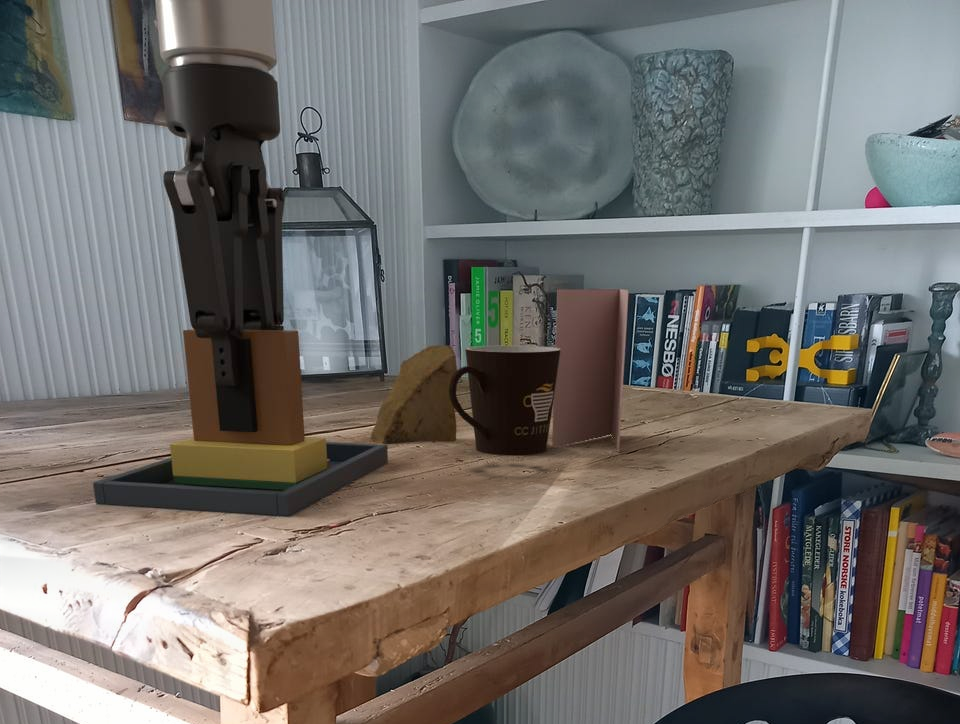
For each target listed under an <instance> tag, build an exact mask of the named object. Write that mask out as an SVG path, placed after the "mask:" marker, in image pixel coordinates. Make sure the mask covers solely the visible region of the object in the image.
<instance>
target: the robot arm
mask: <svg viewBox="0 0 960 724" xmlns="http://www.w3.org/2000/svg"><path fill="white" fill-rule="evenodd" d="M154 1H155V12H156V14H155V18H154V20H153V21H154V27H155V28H156V29H157V32H158V34H157V35H158V44H159V45H158V46H159V55H160V58H161V59H162V60H163V61H164V62H165V63H166V64H167V65H169V66H170V67H168V68H167V69H165V71H164V73H163V74H162V75H161V82H162V91H163V102H164V103H163V104H164V111H165V113H164V114H165V122H166V123H165V124H166V127H167V129H168V131H169V132H170V133H171V134H172V135H174V136H176V137H179V138H182V139H185V141H186V142H185V149H184V157H183V158H184V166H183V167H182V168H181V169H180V170H165V171H164V173H163V177H162V181H163V185H164V189H165V191H166V194H167V198H168V201H169V204H170V206H171V209H172V212H173V213H172V214H173V220H174V225H175V231H176V239H177V245H178V246H177V247H178V252H179V258H180V265H181V271H182V278H183V283H184V284H183V285H184V290H185V297H186V303H187V309H188V315H189V322H190V326H191V329H194V330H195V333H196V336H197V337H198V338H211V341H212V351H213V362H214V373H215V384H216V395H217V405H218V416H219V427H220V431H235V432H256V431H258V429H257V416H256V403H255V390H254V377H253V364H252V351H251V339H241V338H242V337H243V332H244V330H285V329H284V327H285V326H284V325H283V324H284V319H285V310H284V309H285V307H284V305H285V304H284V260H283V258H284V257H283V256H284V253H283V218H284V211H285V202H286V195H285V191H284V188H282V187H271V186H270V185H269V184H268V182H267V181H268V180H267V168H266V165H265V161H264V156H263V151H262V145H263V144H264V143H265V142H266V141H268V142H269V141H272V140H275V139H276V138H278V137H279V135H280V133H281V115H280V100H279V86H278V85H279V84H278V81H277V80H275V76H274V75H272V74H271V73H269V71H271V70H272V69H274V68H275V67H276V66H277V64H278V56H277V43H276V42H277V41H276V28H275V16H274V15H275V14H274V2H273V0H154Z"/></svg>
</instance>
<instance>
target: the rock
mask: <svg viewBox="0 0 960 724" xmlns="http://www.w3.org/2000/svg"><path fill="white" fill-rule="evenodd" d="M457 366H458V365H457V357H456V353H455V351H454V349H453V348H452V346H451V345H450V344H447V345H445V346H444V345H443V346H441V344H440V345H439V344H437V345H431V346H427V347H425V348H423V349H421V350H420V351H419V352H416V353H415V354H413V355H412V356H410V357H409V358H407V359H404V360H402V362H401V363H400V366H399V371H398V374H397V378H396V379H395V381H394V383H393V385H392V387H391V390H390V392H389V395H388V397H387V398H386V399H385V400H384V401H383V402H382V404H381V406H380V409H379V410H378V413H377V417H376V422H375V424H374V427H373V429H372V431H371V434H370V439H369V442H372V443H377V444H381V445H388V444H392V443H399V442H400V443H401V442H407V441H419V442H420V441H421V442H443V443H453V442H455V443H456V441H457V418H456V410H455V408H454V406H453V404H452V402H451V400H450V396H449V387H450V381H451V378H452V376H453V374H454V373H455V372H456V371H457V370H458V367H457ZM457 389H458V385H457V386H456V390H457Z"/></svg>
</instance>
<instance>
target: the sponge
mask: <svg viewBox="0 0 960 724" xmlns="http://www.w3.org/2000/svg"><path fill="white" fill-rule="evenodd" d="M182 337H183V346H184V357H185V365H186V374H187V375H186V376H187V385H188V392H189V402H190V403H189V404H190V405H189V406H190V415H191V425H192V434H193V435H192V436H193V437H190V438H186V439H183V440H179V441H175V442H172V443H169V448H170V458H171V459H172V468H173V476H174V484H186V485H203V486H220V487H237V488H254V489H271V490H286V489H288V488H290V487H292V486H294V485H296V484H299V483H301V482H303V481H305V480H307V479H309V478H311V477H313V476H315V475H317V474H319V473H321V472H323V471H326V470H327V450H326V442H327V438H326V437H317V436H315V437H314V436H305V422H304V405H303V390H302V389H303V388H302V387H303V386H302V372H301V371H302V370H301V355H300V354H301V353H300V352H301V351H300V339H299V338H300V337H299V330H293V329H291V330H289V329H288V330H286V329H284V330H244V332H243V337H242V338H241V339H251V351H252V364H253V377H254V390H255V403H256V416H257V429H258V431H256V432H235V431H220V427H219V416H218V405H217V395H216V384H215V373H214V362H213V351H212V341H211V338H198V337H197V336H196V333H195V330H194V329H193V328H191V329H183V330H182Z"/></svg>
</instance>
